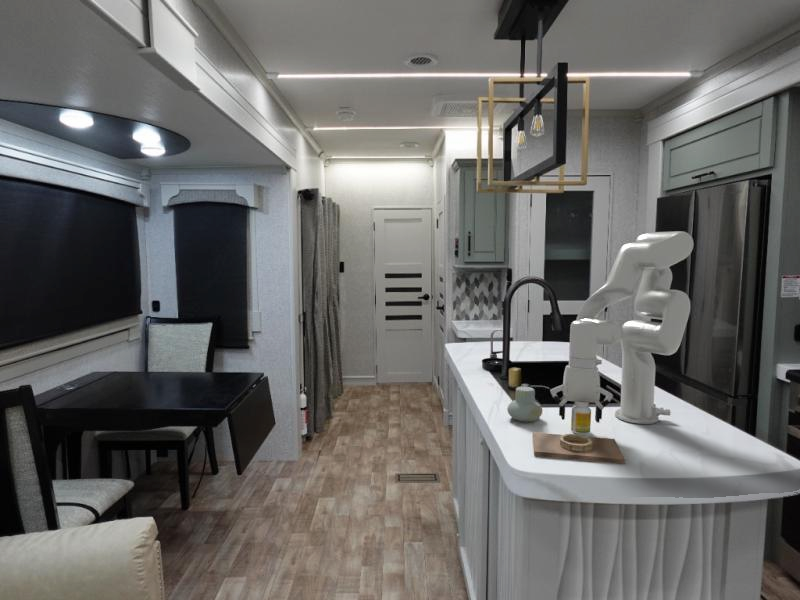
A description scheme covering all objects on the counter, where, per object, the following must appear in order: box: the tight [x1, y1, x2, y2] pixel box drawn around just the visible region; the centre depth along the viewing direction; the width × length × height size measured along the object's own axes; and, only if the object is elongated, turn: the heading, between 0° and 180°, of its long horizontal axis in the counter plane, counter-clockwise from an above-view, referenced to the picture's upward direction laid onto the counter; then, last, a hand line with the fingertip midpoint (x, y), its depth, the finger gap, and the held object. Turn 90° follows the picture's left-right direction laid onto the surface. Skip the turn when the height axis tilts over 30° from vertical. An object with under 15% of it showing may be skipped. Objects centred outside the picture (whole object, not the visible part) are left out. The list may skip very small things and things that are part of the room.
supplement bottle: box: [570, 401, 592, 436], centre depth 143 cm, size 5×5×10 cm
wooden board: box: [532, 432, 626, 465], centre depth 131 cm, size 22×14×3 cm, turn 76°
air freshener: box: [506, 386, 543, 423], centre depth 155 cm, size 11×8×10 cm
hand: (579, 419), depth 143 cm, fingers open, 9 cm apart
